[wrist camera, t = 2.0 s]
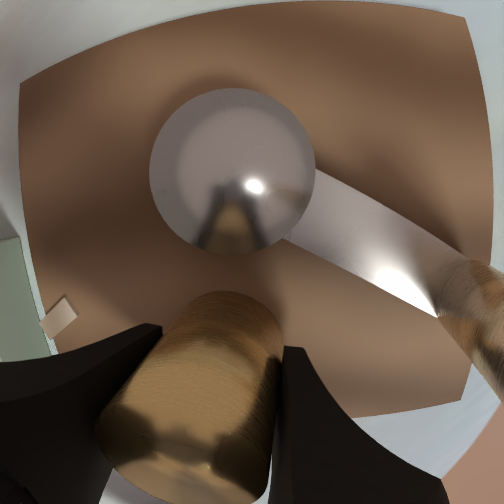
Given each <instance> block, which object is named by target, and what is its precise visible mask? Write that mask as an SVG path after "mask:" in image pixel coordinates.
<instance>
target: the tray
mask: <svg viewBox="0 0 504 504" xmlns="http://www.w3.org/2000/svg"><path fill="white" fill-rule="evenodd" d="M39 322H40V321H39V318H38V314H37V311H36V307H35V304H34V300H33V296H32V293H31V289H30V285H29V281H28V277H27V272H26V268H25V263H24V258H23V253H22V248H21V243H20V237H16V238H9V239H3V240H0V362H11V361H22V360H29V359H36V358H43V357H48V356H51V353H50V351H49V348H48V345H47V342H46V339H45V336H44V333H43V330H42V328H41V326H40V325H39Z"/></svg>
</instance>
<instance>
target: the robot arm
mask: <svg viewBox="0 0 504 504" xmlns="http://www.w3.org/2000/svg"><path fill="white" fill-rule="evenodd" d="M162 336H163V329H162V326H160V325H155V324H150V323H144V324H140V325H137V326H135V327H132V328H130V329H127V330H125V331H122V332H120V333H118V334H115V335H113V336H110V337H108V338H105V339H103V340H100V341H98V342H95V343H92V344H89V345H86V346H83V347H81V348H78V349H75V350H72V351H68V352H65V353H61V354H57V355H52V356H48V357H43V358H36V359H29V360H22V361H11V362H0V504H99V501H100V499H101V496H102V493H103V490H104V488H105V486H106V483H107V481H108V478H109V476H110V474H111V471H112V469H113V467H112V465H111V464H110V463H109V462H108V461H107V459H106V458H105V456H104V455H103V453H102V452H101V450H100V448H99V446H98V443H97V440H96V436H95V424H96V420H97V418H98V417H99V415H100V414H101V412H102V411H103V410H104V409H105V407H106V406H107V405H108V403H109V402H110V401H111V400H112V398H113V397H114V396H115V395H116V393H117V392H118V391H119V389H120V388H121V387H122V386H123V384H124V383H125V382H126V381H127V379H128V378H129V377H130V376H131V374H132V373H133V372H134V371H135V369H136V368H137V367H138V365H139V364H140V363H141V362H142V360H143V359H144V358H145V357H146V355H147V354H148V353H149V352H150V350H151V349H152V348H153V347H154V345H155V344H156V343H157V342H158V340H159V339H160V338H161V337H162ZM268 504H449V500H448V496H447V493H446V491H445V488H444V486H443V484H442V481H441V479H439V478H437V477H435V476H433V475H431V474H429V473H427V472H425V471H423V470H421V469H419V468H417V467H415V466H413V465H411V464H409V463H407V462H406V461H404V460H402V459H401V458H399V457H398V456H396V455H395V454H393V453H391V452H390V451H389V450H387V449H386V448H384V447H383V446H382V445H380V444H379V443H378V442H376V441H375V440H374V439H373V438H372V437H370V436H369V435H368V434H367V433H366V432H364V431H363V430H362V429H361V428H360V427H359V426H358V425H357V424H356V423H355V422H354V421H353V420H352V419H351V418H350V417H349V416H348V415H347V414H346V413H345V412H344V410H343V409H342V408H341V407H340V406H339V404H338V403H337V402H336V400H335V399H334V398H333V396H332V395H331V394H330V392H329V391H328V389H327V388H326V386H325V385H324V383H323V382H322V380H321V379H320V377H319V375H318V374H317V372H316V370H315V368H314V366H313V365H312V363H311V361H310V359H309V357H308V355H307V352H306V350H305V349H304V348H303V347H294V346H285V345H284V349H283V356H282V362H281V372H280V381H279V396H278V405H277V414H276V423H275V431H274V439H273V448H272V474H271V485H270V492H269V499H268Z"/></svg>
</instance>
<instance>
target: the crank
mask: <svg viewBox="0 0 504 504" xmlns="http://www.w3.org/2000/svg"><path fill="white" fill-rule="evenodd" d="M149 179H150V186H151V192H152V195H153V199H154V202H155V204H156V206H157V209H158V211H159V212H160V214H161V216H162V217H163V219H164V220H165V222H166V223H167V224H168V226H169V227H170V228H171V229H172V230H173V231H174V232H175V233H176V234H177V235H178V236H180V237H181V238H182V239H183V240H185V241H186V242H188V243H190V244H191V245H193V246H195V247H197V248H200V249H202V250H204V251H208V252H211V253H215V254H222V255H241V254H248V253H252V252H256V251H259V250H261V249H264V248H266V247H268V246H270V245H272V244H274V243H276V242H277V241H279V240H280V239H281V238H283V239H285V240H287V241H289V242H291V243H293V244H295V245H297V246H299V247H301V248H303V249H305V250H307V251H309V252H311V253H313V254H315V255H317V256H319V257H321V258H323V259H325V260H327V261H329V262H331V263H333V264H335V265H337V266H339V267H341V268H343V269H345V270H347V271H349V272H351V273H353V274H355V275H357V276H359V277H361V278H363V279H365V280H367V281H369V282H371V283H372V284H374V285H376V286H378V287H380V288H382V289H384V290H386V291H388V292H390V293H392V294H394V295H396V296H397V297H399V298H401V299H403V300H405V301H407V302H409V303H411V304H413V305H415V306H416V307H418V308H420V309H422V310H424V311H426V312H428V313H430V314H431V315H433V316H435V317H437V318H438V320H439V322H440V324H441V325H442V326H443V327H444V329H445V330H446V331H447V332H448V333H449V335H450V336H451V337H452V338H453V339H454V341H455V342H456V343H457V344H458V346H459V347H460V348H461V349H462V350H463V352H464V353H465V354H466V355H467V357H468V358H469V359H470V361H471V362H472V363H473V364H474V366H475V367H476V368H477V370H478V371H479V372H480V373H481V375H482V376H483V377H484V379H485V380H486V381H487V383H488V384H489V385H490V387H491V388H492V389H493V391H494V392H495V394H496V395H497V396H498V398H499V399H500V400H501V402H502V403H503V404H504V273H502V272H500V271H498V270H497V269H495V268H493V267H491V266H490V265H488V264H486V263H484V262H482V261H478V260H469V259H468V258H466V257H465V256H464V255H462V254H461V253H459V252H458V251H456V250H455V249H453V248H452V247H450V246H449V245H447V244H446V243H444V242H443V241H441V240H440V239H438V238H436V237H435V236H433V235H432V234H430V233H429V232H427V231H426V230H424V229H422V228H421V227H419V226H417V225H416V224H414V223H413V222H411V221H409V220H408V219H406V218H404V217H403V216H401V215H399V214H398V213H396V212H394V211H393V210H391V209H389V208H387V207H386V206H384V205H382V204H381V203H379V202H377V201H375V200H374V199H372V198H370V197H368V196H366V195H365V194H363V193H361V192H359V191H357V190H355V189H354V188H352V187H350V186H348V185H346V184H344V183H342V182H341V181H339V180H337V179H335V178H333V177H331V176H329V175H327V174H325V173H323V172H321V171H319V170H317V169H315V158H314V152H313V148H312V145H311V142H310V139H309V137H308V135H307V133H306V131H305V129H304V128H303V126H302V124H301V123H300V121H299V120H298V119H297V118H296V117H295V115H294V114H293V113H292V112H291V111H290V110H289V109H287V108H286V107H285V106H284V105H283V104H281V103H280V102H278V101H277V100H275V99H274V98H272V97H269V96H267V95H265V94H263V93H260V92H257V91H254V90H248V89H242V88H225V89H218V90H213V91H209V92H207V93H204V94H201V95H199V96H197V97H195V98H193V99H191V100H189V101H188V102H186V103H185V104H184V105H182V106H181V107H180V108H179V109H177V110H176V111H175V112H174V113H173V114H172V115H171V116H170V118H169V119H168V120H167V121H166V123H165V124H164V126H163V127H162V129H161V130H160V132H159V134H158V136H157V138H156V140H155V143H154V146H153V149H152V153H151V158H150V166H149Z"/></svg>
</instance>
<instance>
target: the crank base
mask: <svg viewBox="0 0 504 504" xmlns="http://www.w3.org/2000/svg"><path fill="white" fill-rule="evenodd" d="M225 88H242V89H248V90H254V91H257V92H260V93H263V94H265V95H267V96H269V97H272V98H274V99H275V100H277V101H278V102H280V103H281V104H283V105H284V106H285V107H286V108H287V109H289V110H290V111H291V112H292V113H293V114H294V115H295V117H296V118H297V119H298V120H299V121H300V123H301V124H302V126H303V128H304V129H305V131H306V133H307V135H308V137H309V139H310V142H311V145H312V148H313V152H314V158H315V169H317V170H319V171H321V172H323V173H325V174H327V175H329V176H331V177H333V178H335V179H337V180H339V181H341V182H342V183H344V184H346V185H348V186H350V187H352V188H354V189H355V190H357V191H359V192H361V193H363V194H365V195H366V196H368V197H370V198H372V199H374V200H375V201H377V202H379V203H381V204H382V205H384V206H386V207H387V208H389V209H391V210H393V211H394V212H396V213H398V214H399V215H401V216H403V217H404V218H406V219H408V220H409V221H411V222H413V223H414V224H416V225H417V226H419V227H421V228H422V229H424V230H426V231H427V232H429V233H430V234H432V235H433V236H435V237H436V238H438V239H440V240H441V241H443V242H444V243H446V244H447V245H449V246H450V247H452V248H453V249H455V250H456V251H458V252H459V253H461V254H462V255H464V256H465V257H466V258H468V259H469V260H478V261H482V262H484V263H486V264H488V265H490V260H491V248H492V233H493V167H492V152H491V141H490V131H489V123H488V116H487V109H486V102H485V97H484V91H483V86H482V81H481V76H480V71H479V67H478V63H477V59H476V55H475V51H474V47H473V44H472V40H471V37H470V33H469V30H468V27H467V24H466V20H465V18H464V17H460V16H456V15H451V14H447V13H442V12H437V11H432V10H427V9H421V8H415V7H408V6H401V5H392V4H383V3H371V2H356V1H297V2H281V3H270V4H260V5H251V6H244V7H237V8H230V9H224V10H219V11H213V12H208V13H203V14H198V15H194V16H189V17H185V18H181V19H177V20H173V21H169V22H166V23H162V24H158V25H155V26H152V27H148V28H145V29H142V30H139V31H136V32H133V33H130V34H127V35H124V36H121V37H118V38H115V39H113V40H110V41H107V42H105V43H102V44H100V45H97V46H95V47H92V48H90V49H88V50H85V51H83V52H81V53H78V54H76V55H74V56H72V57H70V58H68V59H65V60H63V61H61V62H59V63H57V64H55V65H53V66H51V67H49V68H47V69H45V70H43V71H42V72H40V73H38V74H36V75H34V76H32V77H31V78H29V79H27V80H25V81H24V82H22V83H20V94H19V122H18V136H19V165H20V179H21V190H22V200H23V208H24V216H25V223H26V229H27V235H28V241H29V247H30V252H31V257H32V262H33V267H34V271H35V276H36V280H37V284H38V288H39V292H40V296H41V300H42V303H43V307H44V310H45V314H46V316H45V317H44V318H43V319H42V320H41V321H40V322H39V325H40V326H41V328H42V329H43V330H44V332H45V333H46V335H47V336H48V338H49V339H50V340H51V339H52V338H53V339H54V342H55V345H56V348H57V351H58V354H61V353H65V352H68V351H72V350H75V349H78V348H81V347H83V346H86V345H89V344H92V343H95V342H98V341H100V340H103V339H105V338H108V337H110V336H113V335H115V334H118V333H120V332H122V331H125V330H127V329H130V328H132V327H135V326H137V325H140V324H144V323H150V324H155V325H160V326H162V329H163V334H164V333H165V332H166V331H167V329H168V328H169V327H170V326H171V324H172V323H173V322H174V321H175V319H176V318H177V317H178V316H179V314H180V313H181V312H182V311H183V310H184V308H185V307H186V306H187V305H188V304H189V303H190V302H191V301H193V300H194V299H195V298H197V297H199V296H201V295H203V294H206V293H209V292H214V291H233V292H238V293H242V294H245V295H247V296H250V297H252V298H254V299H256V300H257V301H259V302H260V303H262V304H263V305H264V306H265V307H267V308H268V309H269V310H270V311H271V313H272V314H273V315H274V316H275V318H276V320H277V321H278V323H279V325H280V327H281V331H282V334H283V349H284V345H285V346H294V347H303V348H304V349H305V350H306V352H307V355H308V357H309V359H310V361H311V363H312V365H313V366H314V368H315V370H316V372H317V374H318V375H319V377H320V379H321V380H322V382H323V383H324V385H325V386H326V388H327V389H328V391H329V392H330V394H331V395H332V396H333V398H334V399H335V400H336V402H337V403H338V404H339V406H340V407H341V408H342V409H343V410H344V412H345V413H346V414H347V415H348V416H349V417H350V418H358V417H367V416H376V415H383V414H391V413H397V412H404V411H410V410H416V409H421V408H426V407H432V406H436V405H441V404H446V403H450V402H455V401H459V400H461V397H462V394H463V391H464V388H465V385H466V381H467V378H468V375H469V371H470V368H471V364H472V362H471V361H470V359H469V358H468V357H467V355H466V354H465V353H464V352H463V350H462V349H461V348H460V347H459V346H458V344H457V343H456V342H455V341H454V339H453V338H452V337H451V336H450V335H449V333H448V332H447V331H446V330H445V329H444V327H443V326H442V325H441V324H440V322H439V320H438V318H437V317H435V316H433V315H431V314H430V313H428V312H426V311H424V310H422V309H420V308H418V307H416V306H415V305H413V304H411V303H409V302H407V301H405V300H403V299H401V298H399V297H397V296H396V295H394V294H392V293H390V292H388V291H386V290H384V289H382V288H380V287H378V286H376V285H374V284H372V283H371V282H369V281H367V280H365V279H363V278H361V277H359V276H357V275H355V274H353V273H351V272H349V271H347V270H345V269H343V268H341V267H339V266H337V265H335V264H333V263H331V262H329V261H327V260H325V259H323V258H321V257H319V256H317V255H315V254H313V253H311V252H309V251H307V250H305V249H303V248H301V247H299V246H297V245H295V244H293V243H291V242H289V241H287V240H285V239H283V238H281V239H280V240H279V241H277V242H276V243H274V244H272V245H270V246H268V247H266V248H264V249H261V250H259V251H256V252H252V253H248V254H241V255H222V254H215V253H211V252H208V251H204V250H202V249H200V248H197V247H195V246H193V245H191V244H190V243H188V242H186V241H185V240H183V239H182V238H181V237H180V236H178V235H177V234H176V233H175V232H174V231H173V230H172V229H171V228H170V227H169V226H168V224H167V223H166V222H165V220H164V219H163V217H162V216H161V214H160V212H159V211H158V209H157V206H156V204H155V202H154V199H153V195H152V192H151V186H150V179H149V166H150V158H151V153H152V149H153V146H154V143H155V140H156V138H157V136H158V134H159V132H160V130H161V129H162V127H163V126H164V124H165V123H166V121H167V120H168V119H169V118H170V116H171V115H172V114H173V113H174V112H175V111H176V110H177V109H179V108H180V107H181V106H182V105H184V104H185V103H186V102H188V101H189V100H191V99H193V98H195V97H197V96H199V95H201V94H204V93H207V92H209V91H213V90H218V89H225Z"/></svg>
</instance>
